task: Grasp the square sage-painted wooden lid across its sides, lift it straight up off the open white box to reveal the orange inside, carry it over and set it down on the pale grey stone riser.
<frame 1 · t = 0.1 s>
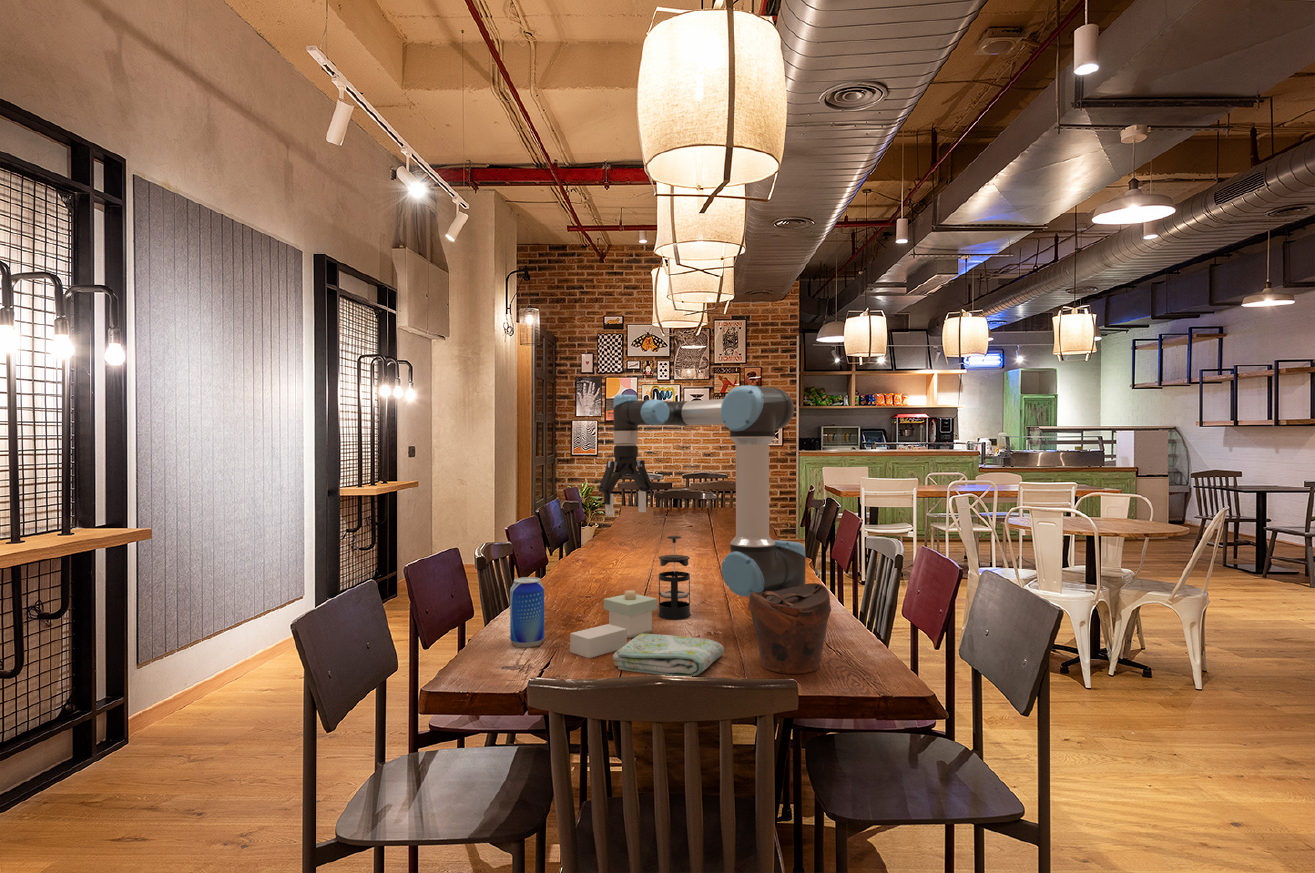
hand: (626, 513, 220), 28 cm above the table, fingers open, 13 cm apart
lid: (630, 609, 188), point 6 cm above the table, touching open white box
towel: (669, 665, 163), on the table
french press: (674, 615, 206), on the table
riser: (598, 649, 173), on the table
beer can: (527, 644, 178), on the table
orange: (630, 629, 188), point 1 cm above the table, touching open white box
brown tapered bucket: (789, 666, 160), on the table
open white box: (630, 632, 188), on the table
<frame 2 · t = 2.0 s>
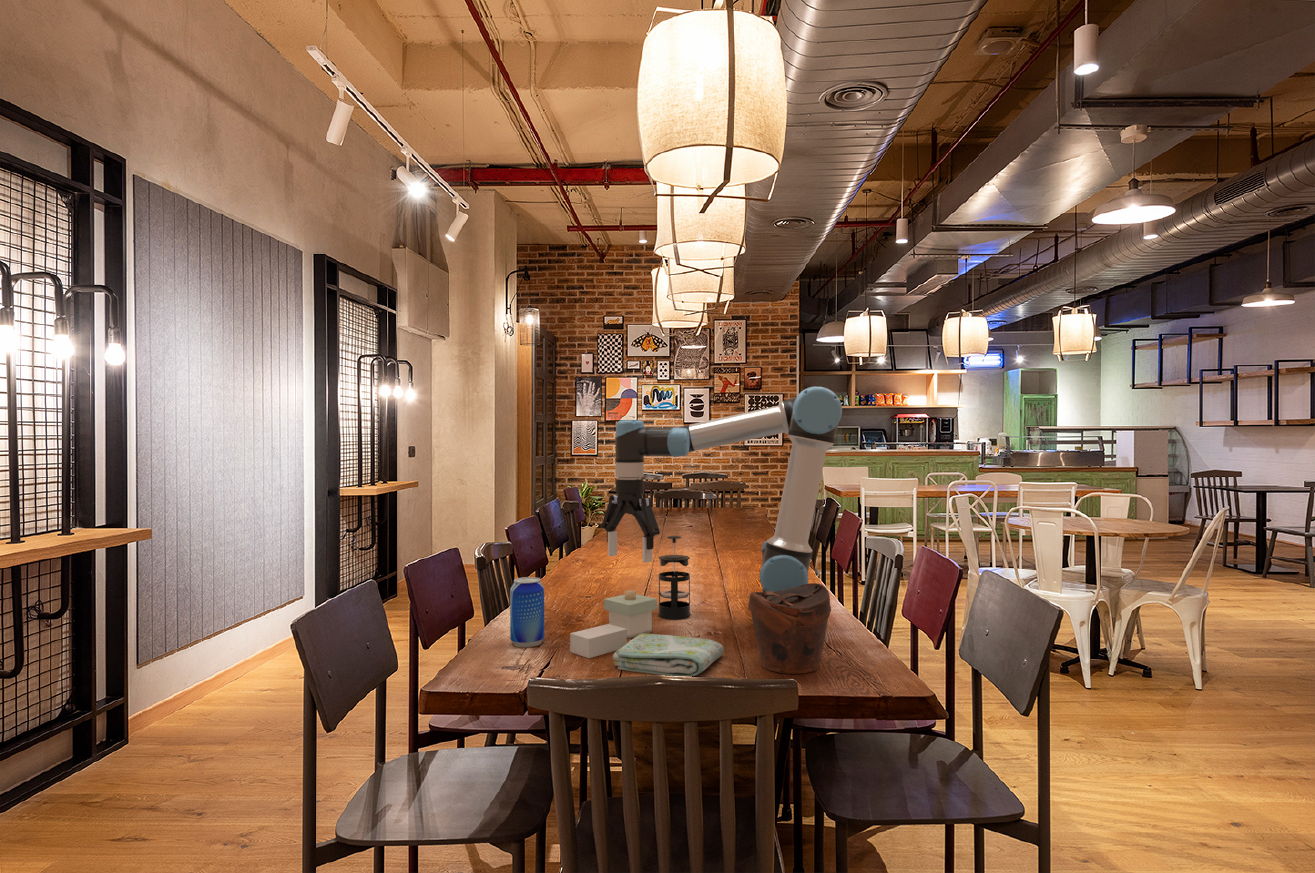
hand: (629, 558, 188), 19 cm above the table, fingers open, 13 cm apart
nothing on the table moved.
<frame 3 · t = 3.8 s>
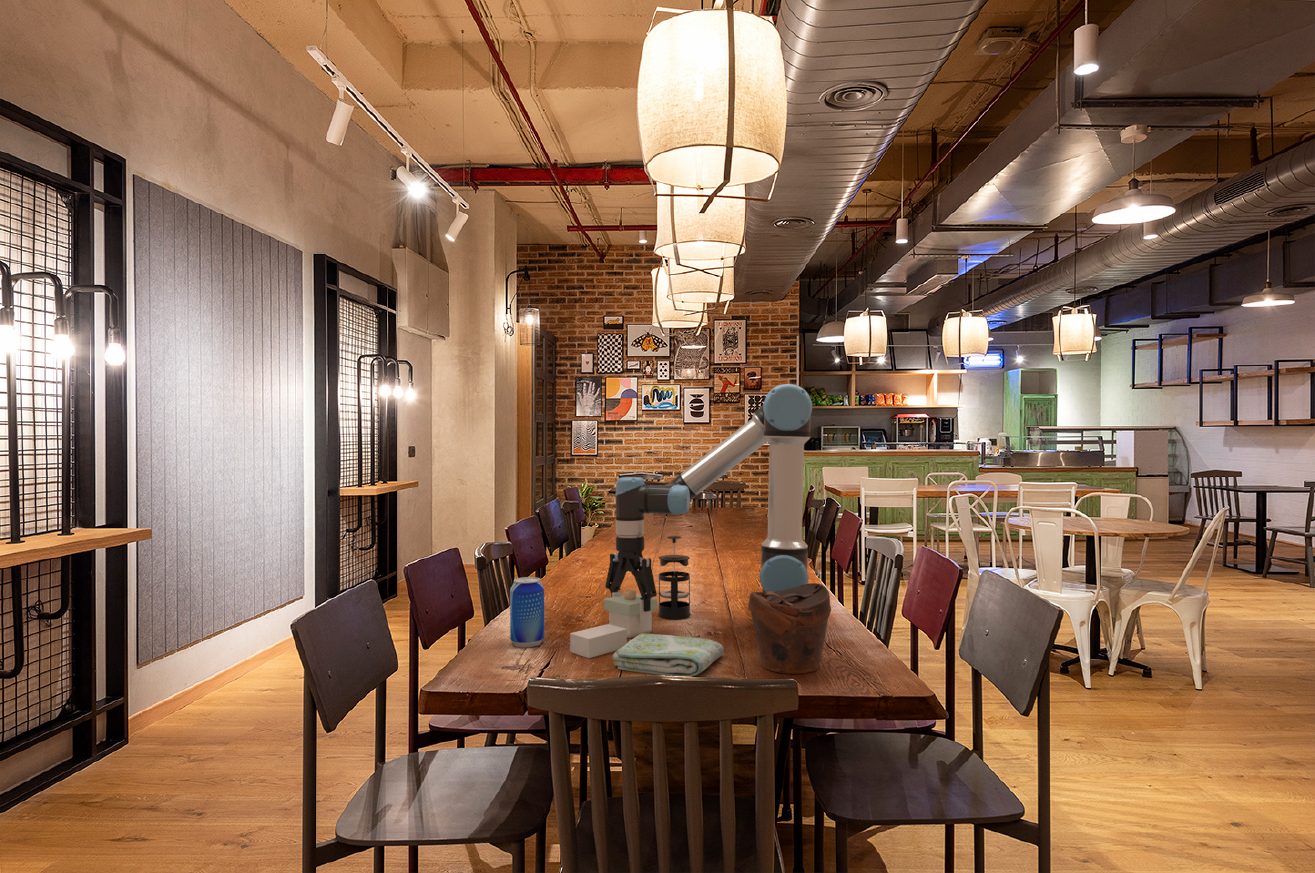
hand: (630, 619, 188), 3 cm above the table, fingers closed on lid, 10 cm apart
lid: (630, 609, 188), point 6 cm above the table, touching open white box, gripper
everything else where it was.
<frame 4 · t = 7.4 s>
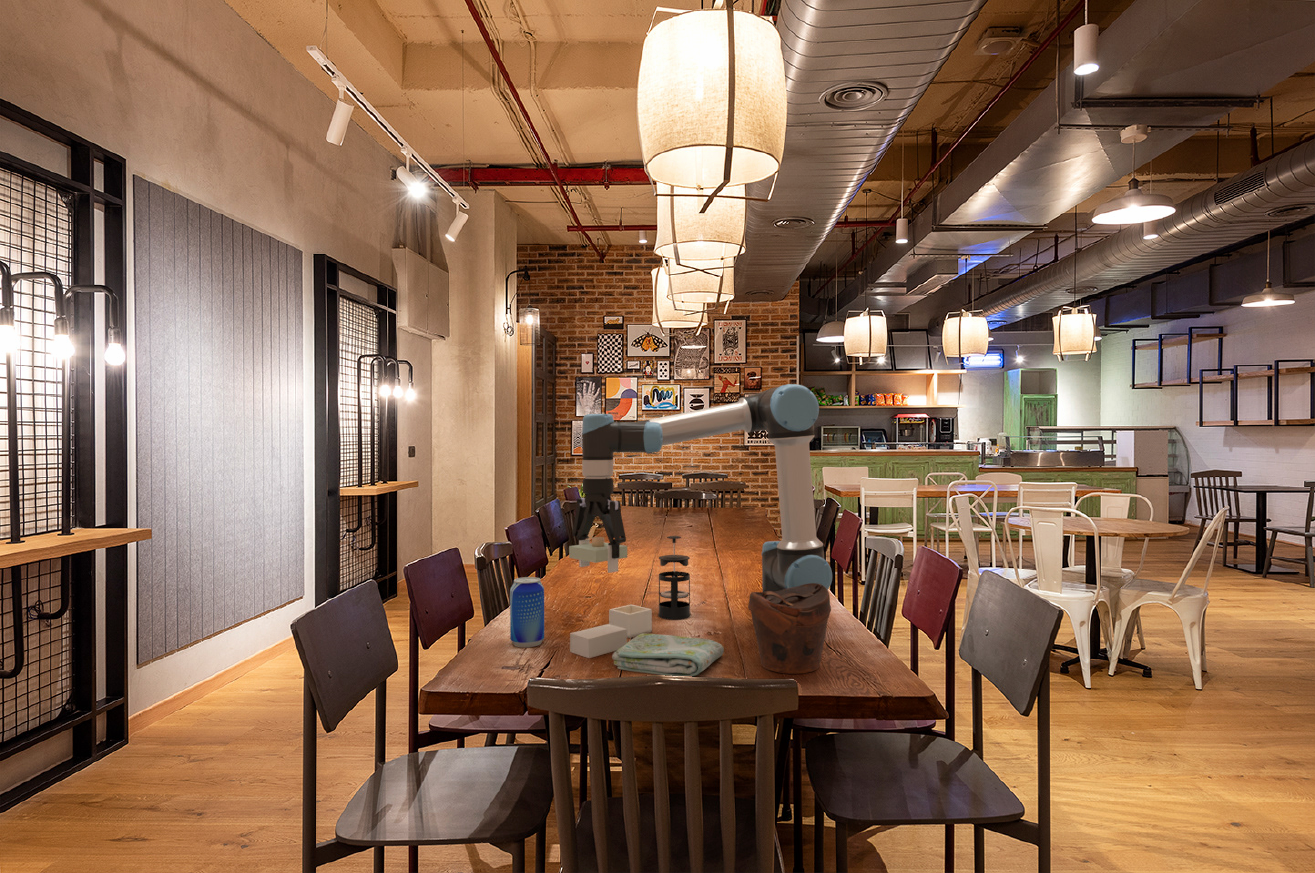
hand: (598, 568, 173), 20 cm above the table, fingers closed on lid, 10 cm apart
lid: (598, 557, 173), point 22 cm above the table, touching gripper
everything else where it was.
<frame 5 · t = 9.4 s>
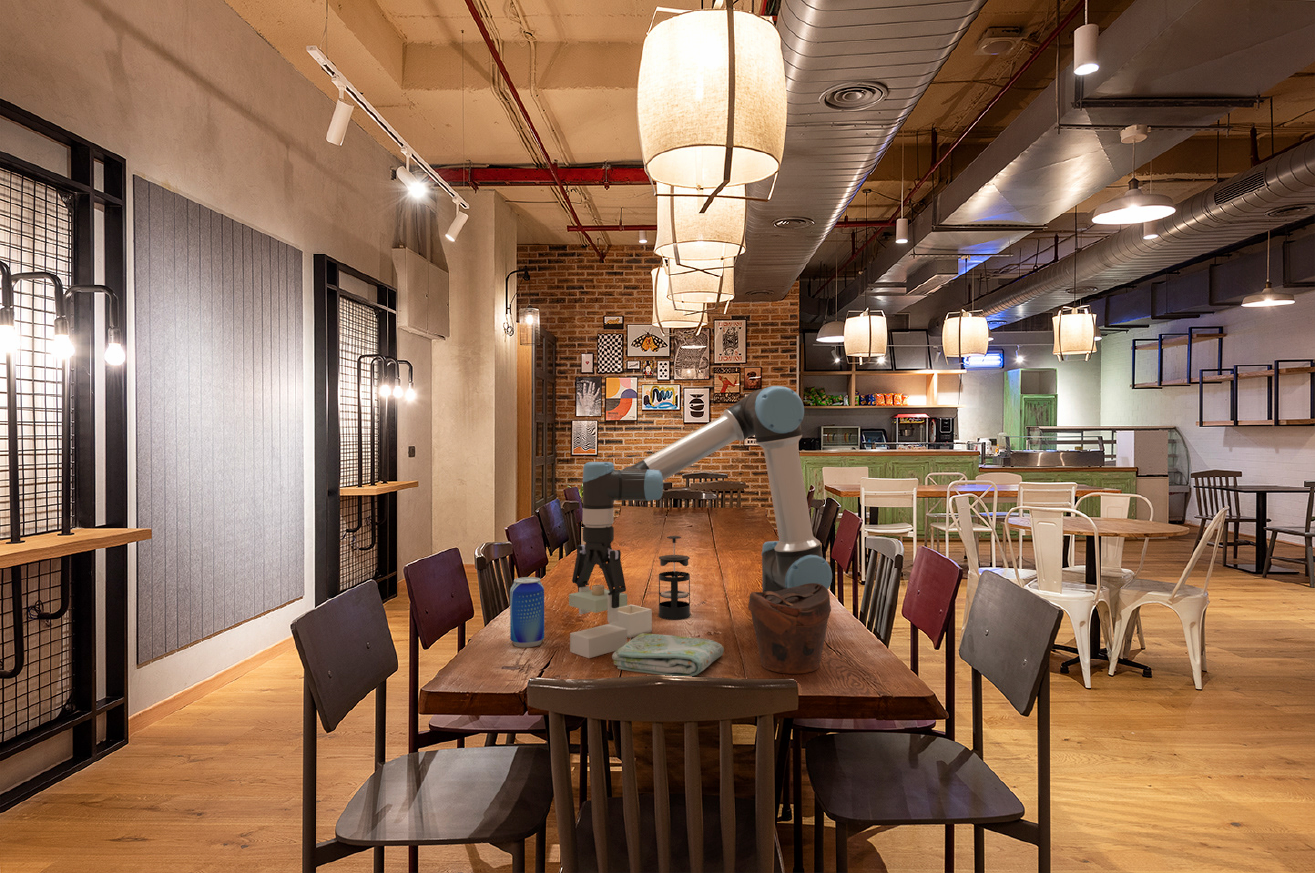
hand: (598, 617, 173), 8 cm above the table, fingers closed on lid, 10 cm apart
lid: (598, 605, 173), point 11 cm above the table, touching gripper
everything else where it was.
when the fingers open (3 cm above the table, at t = 11.1 s): lid stays where it is, resting on riser.
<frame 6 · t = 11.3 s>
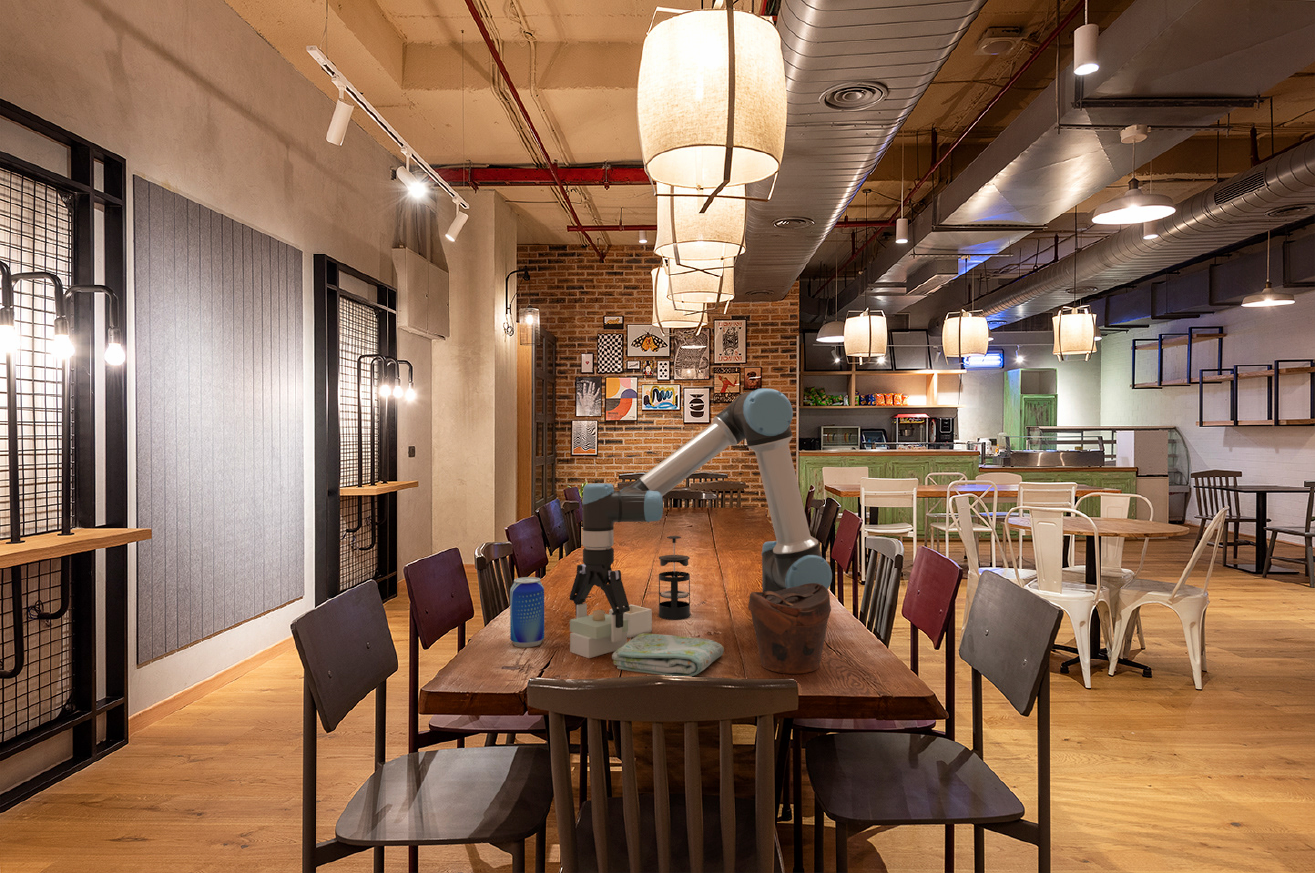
hand: (598, 635, 173), 3 cm above the table, fingers open, 12 cm apart
lid: (598, 631, 173), point 4 cm above the table, touching riser
everything else where it was.
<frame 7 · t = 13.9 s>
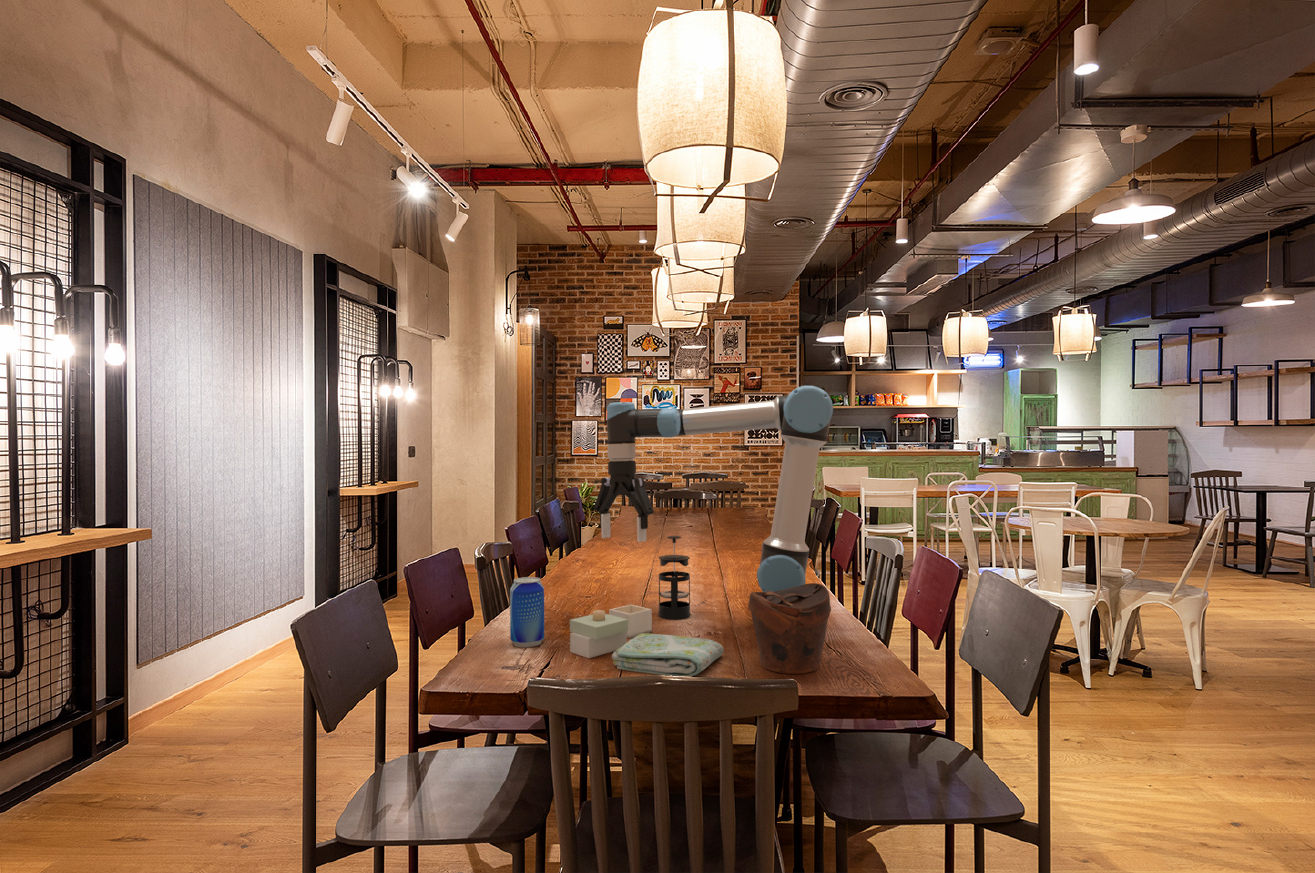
hand: (623, 539, 190), 24 cm above the table, fingers open, 13 cm apart
nothing on the table moved.
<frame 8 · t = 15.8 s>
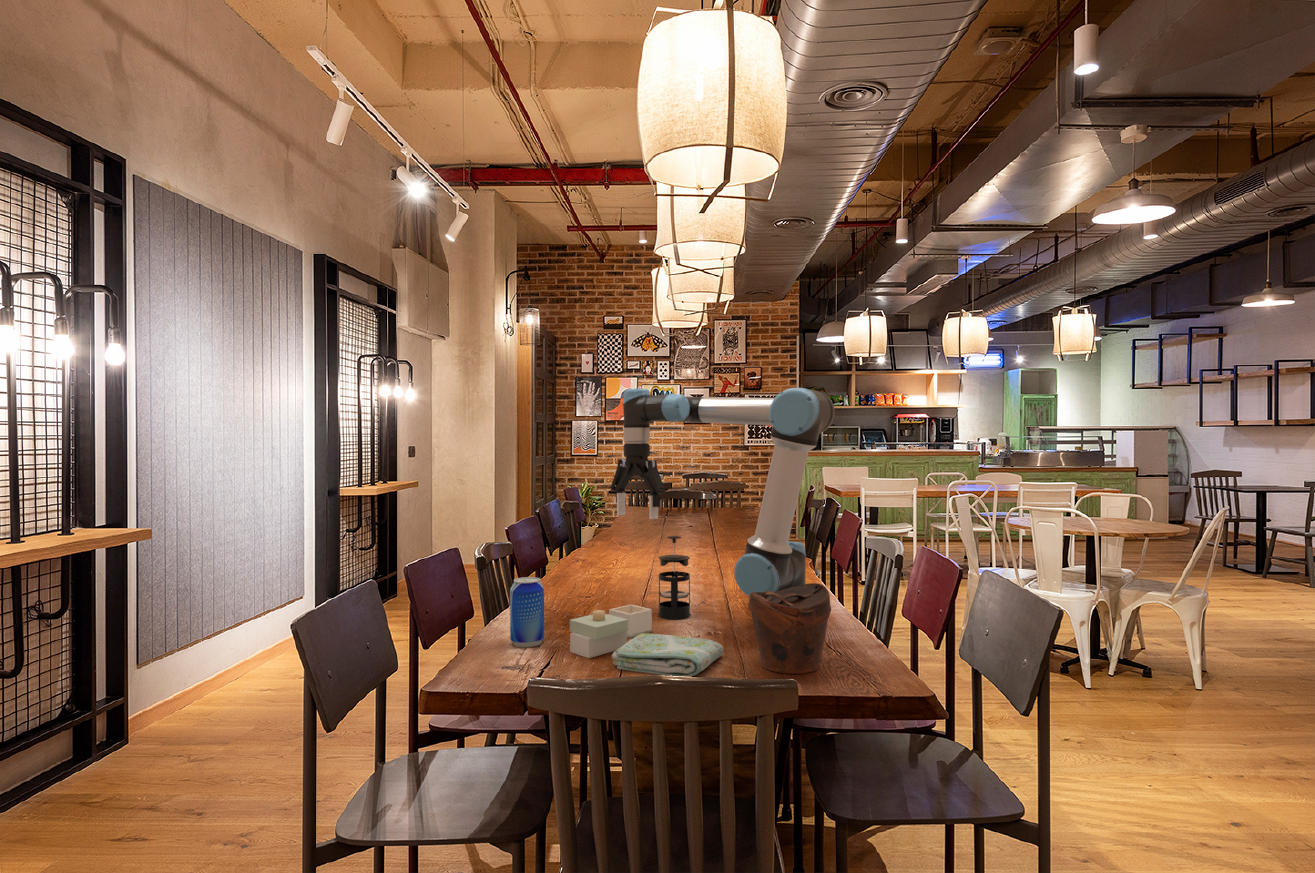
hand: (637, 517, 204), 29 cm above the table, fingers open, 13 cm apart
nothing on the table moved.
at the end: lid inside the target area on the riser (0.0 cm from its centre), point 4.5 cm above the riser's base; lid tilted 0°; lid touching riser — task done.
